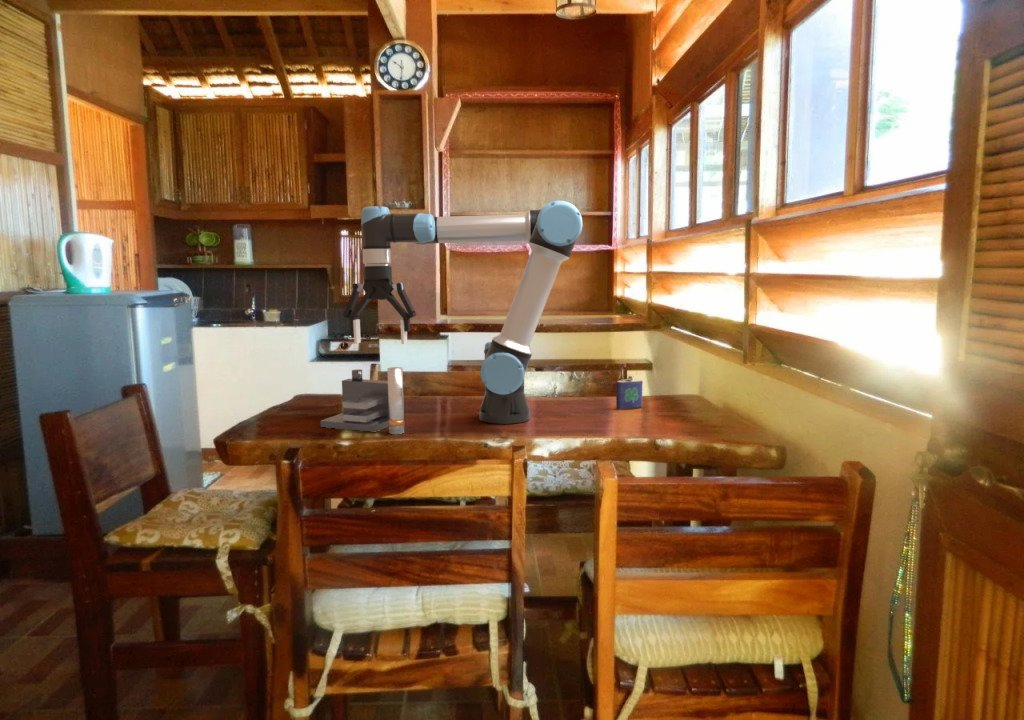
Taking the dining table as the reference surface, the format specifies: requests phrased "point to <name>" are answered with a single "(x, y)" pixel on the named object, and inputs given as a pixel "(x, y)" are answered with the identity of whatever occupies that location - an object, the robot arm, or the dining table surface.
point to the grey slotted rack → (361, 405)
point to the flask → (629, 394)
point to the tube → (395, 400)
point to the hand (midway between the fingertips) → (380, 343)
